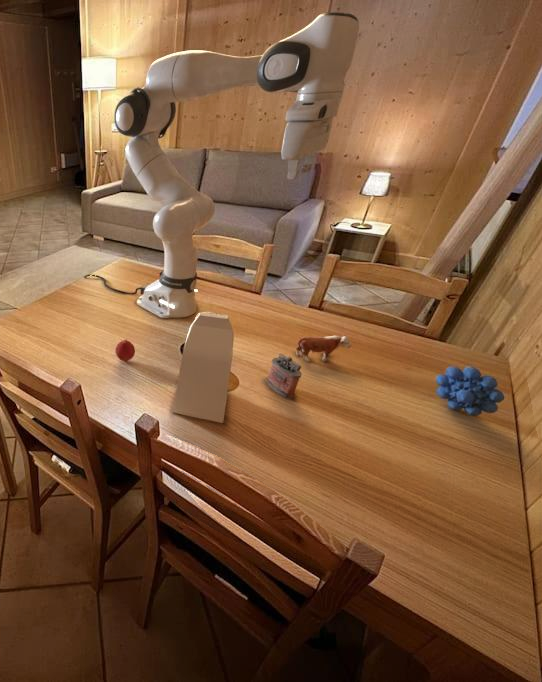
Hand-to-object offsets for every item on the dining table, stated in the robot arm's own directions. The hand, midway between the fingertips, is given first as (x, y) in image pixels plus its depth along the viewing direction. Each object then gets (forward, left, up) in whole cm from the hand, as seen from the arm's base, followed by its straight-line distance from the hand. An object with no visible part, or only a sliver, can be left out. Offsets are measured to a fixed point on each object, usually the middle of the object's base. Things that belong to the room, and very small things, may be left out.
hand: (298, 175), depth 88 cm
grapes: (+47, -2, -48) cm, 68 cm away
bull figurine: (+17, 0, -48) cm, 51 cm away
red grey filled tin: (+14, -20, -48) cm, 54 cm away
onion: (-25, -37, -48) cm, 66 cm away
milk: (+1, -38, -48) cm, 61 cm away
